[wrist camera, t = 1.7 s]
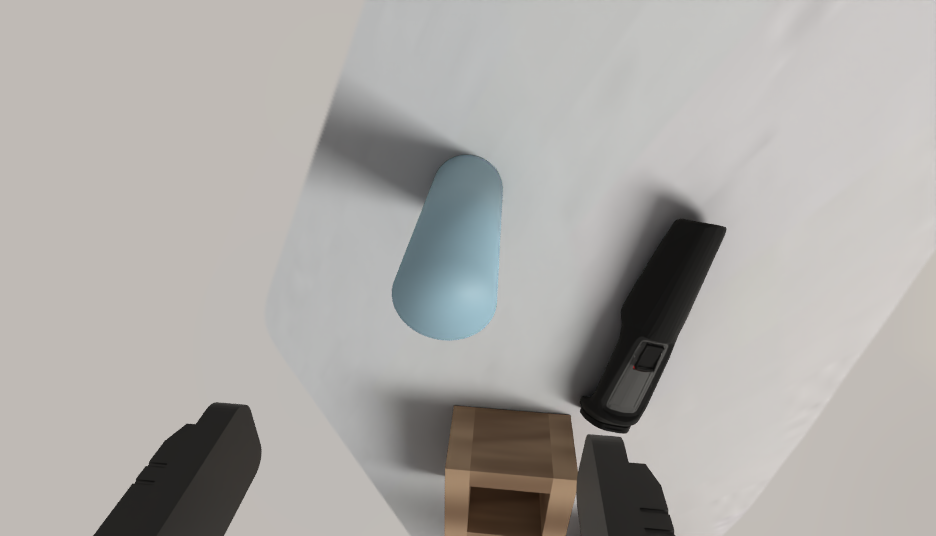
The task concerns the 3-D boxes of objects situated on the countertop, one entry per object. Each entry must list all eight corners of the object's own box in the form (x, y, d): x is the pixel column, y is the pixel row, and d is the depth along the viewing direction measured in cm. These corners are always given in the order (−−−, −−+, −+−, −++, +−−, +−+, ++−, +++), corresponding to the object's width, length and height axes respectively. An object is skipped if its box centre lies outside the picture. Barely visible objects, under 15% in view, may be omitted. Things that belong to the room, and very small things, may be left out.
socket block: (453, 405, 33) (445, 468, 29) (570, 415, 33) (578, 480, 29) (452, 477, 37) (444, 542, 33) (555, 487, 37) (561, 553, 33)
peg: (433, 152, 24) (388, 249, 16) (504, 156, 24) (500, 257, 15) (433, 218, 26) (394, 336, 17) (500, 222, 26) (493, 344, 17)
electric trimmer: (733, 208, 25) (760, 236, 22) (627, 414, 33) (638, 453, 30) (663, 193, 25) (681, 219, 22) (573, 403, 33) (579, 441, 30)
